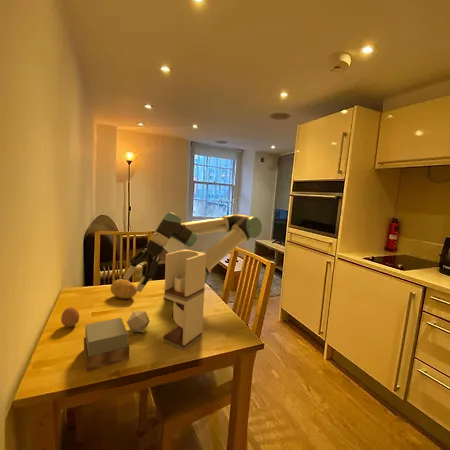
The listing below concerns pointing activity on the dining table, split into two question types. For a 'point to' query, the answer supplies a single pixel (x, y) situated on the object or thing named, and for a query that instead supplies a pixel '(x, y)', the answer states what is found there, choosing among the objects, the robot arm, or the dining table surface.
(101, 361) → the block
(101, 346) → the block
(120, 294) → the potato
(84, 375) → the dining table surface
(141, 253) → the robot arm
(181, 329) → the display case
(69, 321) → the egg
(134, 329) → the die
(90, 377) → the dining table surface
